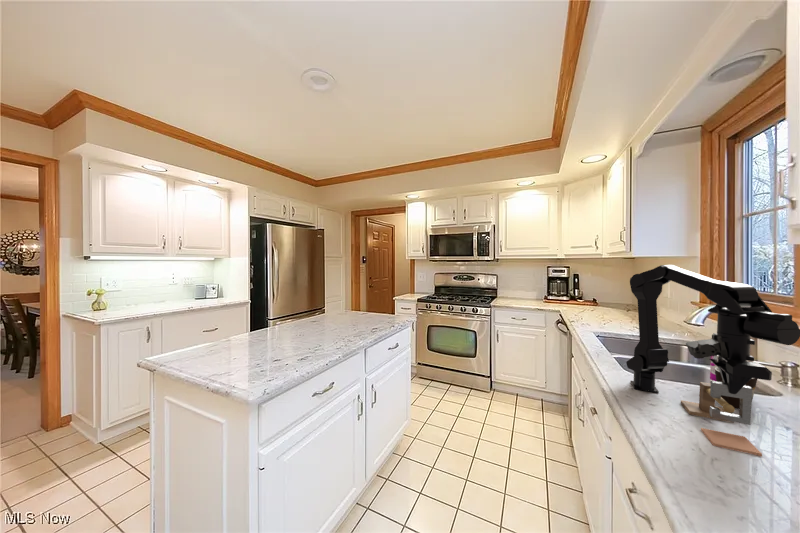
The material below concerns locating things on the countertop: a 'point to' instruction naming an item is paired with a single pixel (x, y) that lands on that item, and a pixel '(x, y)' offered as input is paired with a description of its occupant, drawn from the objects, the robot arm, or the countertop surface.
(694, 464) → the countertop surface
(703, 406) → the stand
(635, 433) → the countertop surface
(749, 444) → the mat
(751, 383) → the coffee mug
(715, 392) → the link
